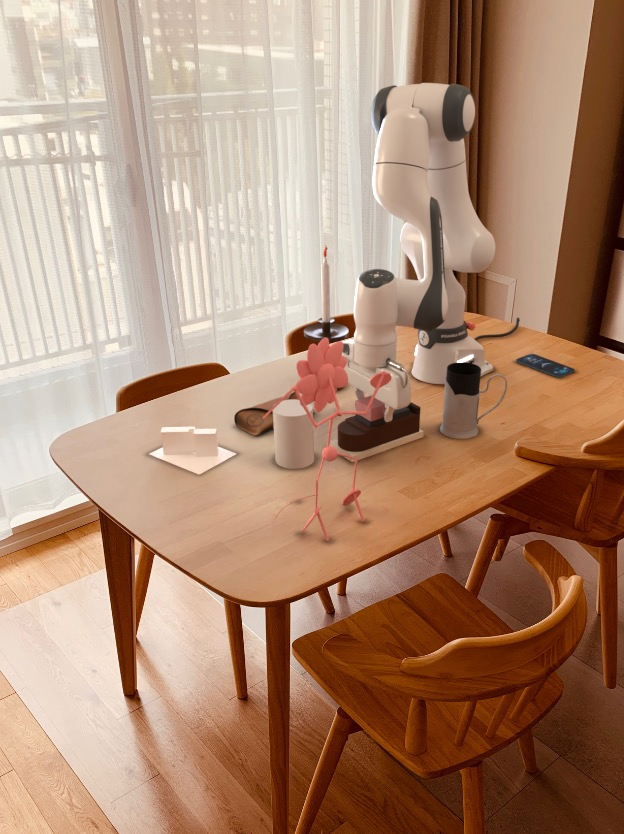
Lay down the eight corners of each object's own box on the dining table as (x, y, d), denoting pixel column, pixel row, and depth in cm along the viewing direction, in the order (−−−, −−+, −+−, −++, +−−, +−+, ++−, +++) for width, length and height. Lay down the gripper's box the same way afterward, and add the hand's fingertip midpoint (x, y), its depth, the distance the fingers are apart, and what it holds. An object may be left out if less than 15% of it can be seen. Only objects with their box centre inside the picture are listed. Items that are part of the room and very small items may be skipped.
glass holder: (438, 421, 187) (442, 360, 178) (499, 422, 187) (506, 361, 179) (441, 438, 179) (445, 376, 171) (504, 439, 179) (511, 377, 171)
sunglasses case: (256, 436, 177) (245, 407, 176) (241, 441, 182) (230, 413, 181) (318, 412, 188) (308, 385, 187) (302, 418, 193) (292, 392, 192)
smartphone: (559, 376, 209) (514, 359, 218) (558, 378, 210) (514, 361, 219) (576, 369, 214) (532, 352, 223) (576, 371, 214) (531, 354, 223)
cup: (297, 446, 174) (295, 396, 168) (322, 460, 169) (320, 408, 163) (267, 458, 169) (264, 407, 163) (292, 472, 165) (289, 420, 158)
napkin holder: (147, 454, 170) (144, 430, 167) (186, 434, 178) (183, 411, 175) (199, 474, 163) (196, 450, 160) (237, 453, 171) (235, 429, 168)
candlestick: (352, 392, 199) (353, 249, 181) (309, 395, 197) (305, 251, 178) (343, 375, 208) (343, 237, 190) (302, 378, 206) (297, 239, 187)
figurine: (397, 506, 154) (404, 332, 136) (296, 562, 138) (288, 372, 120) (342, 478, 163) (341, 310, 144) (241, 527, 147) (225, 345, 128)
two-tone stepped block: (394, 405, 179) (394, 388, 177) (409, 414, 176) (410, 396, 173) (354, 418, 173) (355, 400, 171) (370, 427, 170) (370, 409, 168)
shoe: (399, 423, 185) (400, 393, 181) (423, 437, 180) (425, 406, 176) (329, 447, 174) (328, 416, 170) (352, 462, 169) (352, 430, 165)
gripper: (419, 364, 160) (416, 426, 167) (358, 335, 173) (357, 393, 181) (395, 371, 157) (393, 434, 164) (334, 341, 170) (335, 400, 177)
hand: (374, 413), depth 172 cm, fingers open, 7 cm apart
